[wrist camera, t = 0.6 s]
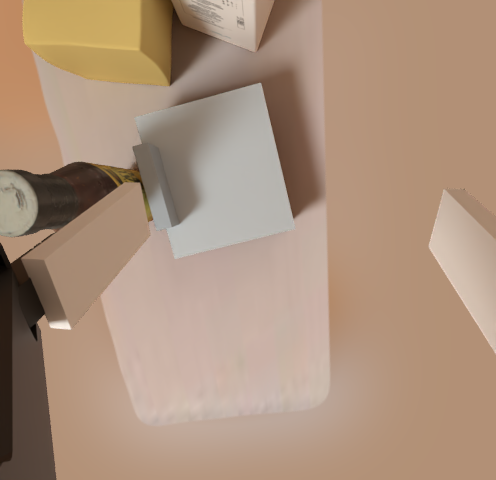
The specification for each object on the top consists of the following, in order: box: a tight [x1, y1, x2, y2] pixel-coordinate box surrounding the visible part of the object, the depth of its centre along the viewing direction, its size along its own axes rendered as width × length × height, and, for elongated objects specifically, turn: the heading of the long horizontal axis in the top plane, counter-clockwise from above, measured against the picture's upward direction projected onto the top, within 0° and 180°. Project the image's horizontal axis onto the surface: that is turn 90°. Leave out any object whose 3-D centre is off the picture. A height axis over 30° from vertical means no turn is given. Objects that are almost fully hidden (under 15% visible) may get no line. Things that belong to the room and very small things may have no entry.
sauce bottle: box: [0, 162, 153, 237], centre depth 29 cm, size 6×6×20 cm
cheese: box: [23, 0, 173, 86], centre depth 32 cm, size 10×11×10 cm
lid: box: [133, 83, 296, 259], centre depth 33 cm, size 15×13×4 cm
